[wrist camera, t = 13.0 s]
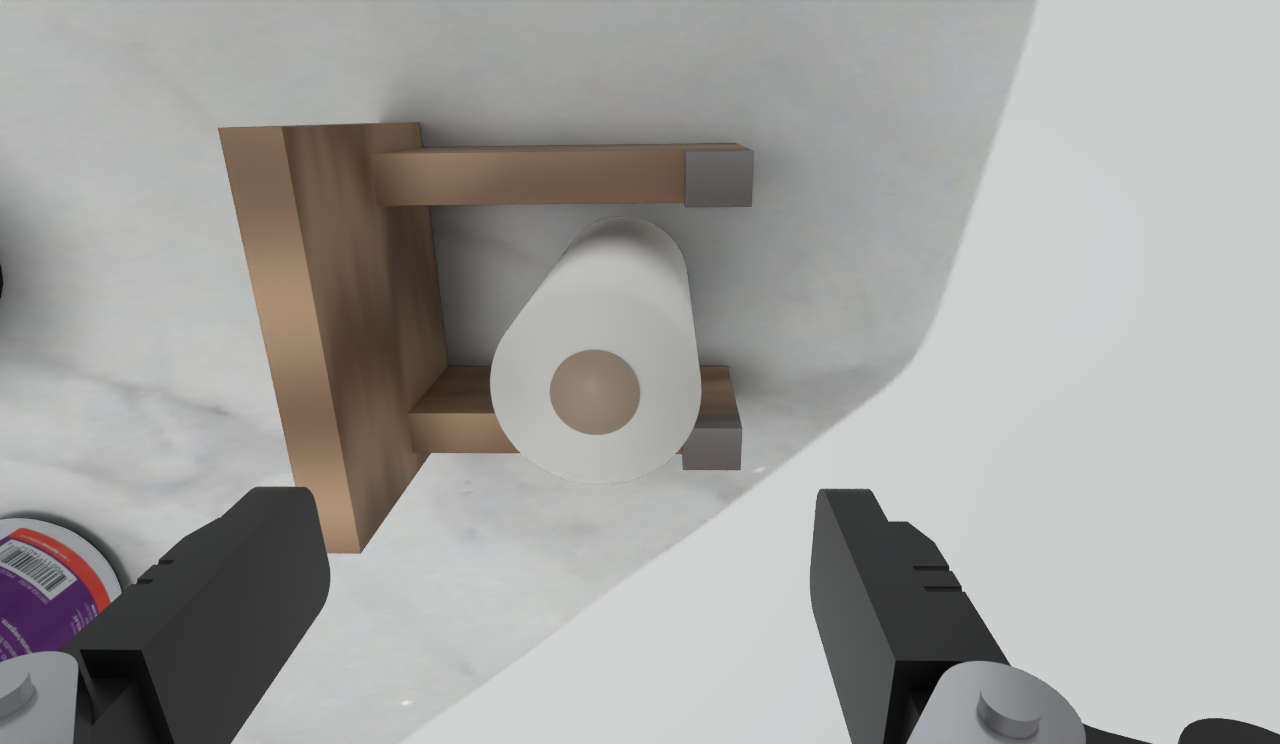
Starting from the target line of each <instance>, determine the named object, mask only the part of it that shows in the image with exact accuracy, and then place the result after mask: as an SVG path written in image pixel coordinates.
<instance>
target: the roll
mask: <svg viewBox="0 0 1280 744" xmlns="http://www.w3.org/2000/svg"><path fill="white" fill-rule="evenodd" d="M490 392H491V398H492V404H493V407H494V411H495V414H496V417H497V419H498V421H499V423H500V426H501V428H502V430H503V431H504V433H505V434H506V436H507V437H508V439H509V440H510V442H511V443H512V444H513V445H514V446H515V448H516V449H517V450H518V451H519V452H520V453H521V454H522V455H523V456H524V457H525V458H527V459H528V460H529V461H531V462H532V463H533V464H535V465H536V466H537V467H539V468H541V469H543V470H544V471H546V472H548V473H550V474H552V475H555V476H557V477H559V478H562V479H565V480H569V481H572V482H577V483H583V484H592V485H608V484H617V483H623V482H627V481H630V480H634V479H637V478H639V477H642V476H644V475H646V474H649V473H651V472H652V471H654V470H656V469H657V468H659V467H661V466H662V465H663V464H664V463H666V462H667V461H668V460H670V459H671V458H672V457H673V456H674V455H675V454H676V453H677V452H678V451H679V450H680V448H681V447H682V446H683V444H684V443H685V442H686V440H687V439H688V437H689V435H690V433H691V431H692V430H693V427H694V425H695V422H696V420H697V417H698V413H699V409H700V403H701V376H700V368H699V361H698V353H697V345H696V337H695V329H694V321H693V314H692V306H691V298H690V290H689V282H688V274H687V268H686V264H685V261H684V258H683V255H682V253H681V251H680V249H679V247H678V246H677V244H676V243H675V242H674V240H673V239H672V238H671V237H670V236H669V235H668V234H667V233H666V232H665V231H664V230H662V229H661V228H659V227H658V226H656V225H655V224H653V223H650V222H648V221H646V220H643V219H640V218H635V217H626V216H620V217H611V218H607V219H604V220H601V221H598V222H596V223H594V224H592V225H590V226H589V227H587V228H586V229H584V230H583V231H582V232H581V233H580V234H579V235H578V236H577V237H576V238H575V239H574V241H573V242H572V243H571V244H570V246H569V247H568V248H567V250H566V251H565V252H564V254H563V255H562V257H561V258H560V259H559V261H558V262H557V263H556V265H555V266H554V267H553V269H552V270H551V271H550V273H549V274H548V275H547V277H546V278H545V279H544V281H543V282H542V284H541V285H540V286H539V288H538V289H537V290H536V292H535V293H534V294H533V296H532V297H531V298H530V300H529V301H528V302H527V304H526V305H525V306H524V308H523V309H522V310H521V312H520V313H519V315H518V316H517V317H516V319H515V320H514V321H513V323H512V324H511V325H510V327H509V328H508V329H507V331H506V332H505V334H504V336H503V337H502V339H501V341H500V343H499V345H498V347H497V350H496V352H495V355H494V359H493V363H492V367H491V375H490Z"/></svg>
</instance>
